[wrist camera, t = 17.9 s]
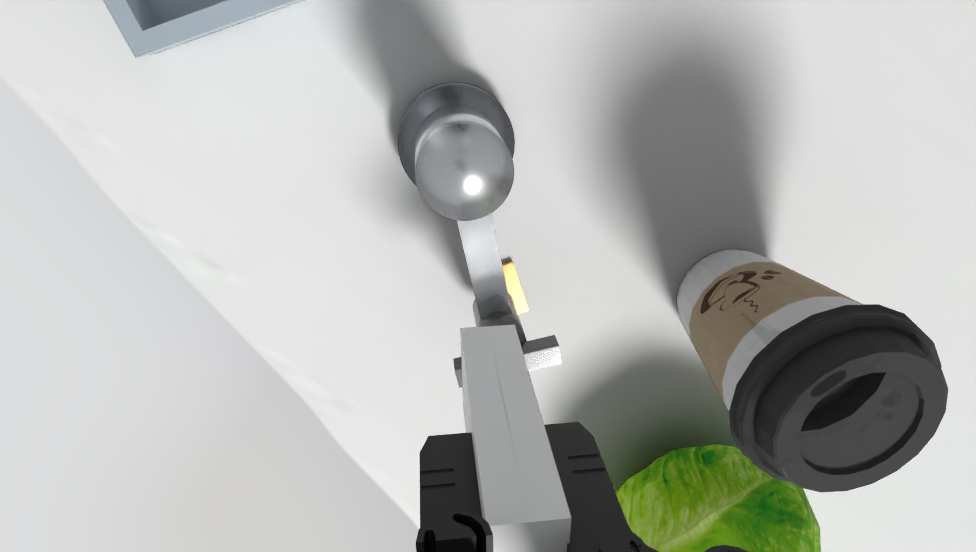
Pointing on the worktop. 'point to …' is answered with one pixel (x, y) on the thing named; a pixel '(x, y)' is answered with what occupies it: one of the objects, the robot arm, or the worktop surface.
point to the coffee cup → (811, 372)
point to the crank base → (497, 116)
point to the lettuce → (716, 504)
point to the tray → (181, 19)
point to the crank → (475, 211)
